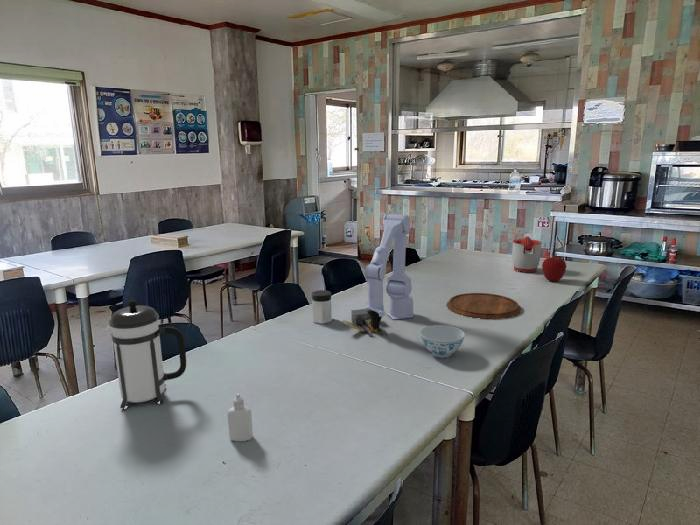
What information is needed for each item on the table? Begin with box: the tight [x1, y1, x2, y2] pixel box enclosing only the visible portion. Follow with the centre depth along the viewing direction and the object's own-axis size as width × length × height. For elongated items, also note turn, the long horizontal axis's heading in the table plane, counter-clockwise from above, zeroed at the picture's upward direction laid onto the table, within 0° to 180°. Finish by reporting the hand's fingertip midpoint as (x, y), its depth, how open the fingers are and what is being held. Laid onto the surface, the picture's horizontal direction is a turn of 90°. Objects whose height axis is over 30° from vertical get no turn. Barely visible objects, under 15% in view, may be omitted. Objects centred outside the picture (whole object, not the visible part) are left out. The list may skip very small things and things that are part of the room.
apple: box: [541, 256, 567, 282], centre depth 255 cm, size 12×12×13 cm
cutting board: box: [446, 292, 522, 320], centre depth 216 cm, size 32×32×2 cm
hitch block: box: [350, 308, 387, 338], centre depth 194 cm, size 10×18×5 cm, turn 17°
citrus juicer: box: [511, 235, 543, 273], centre depth 276 cm, size 16×17×20 cm
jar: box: [311, 289, 333, 325], centre depth 202 cm, size 9×8×12 cm
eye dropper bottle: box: [227, 393, 254, 442], centre depth 120 cm, size 4×6×12 cm
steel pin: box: [363, 316, 379, 333], centre depth 195 cm, size 3×12×5 cm, turn 18°
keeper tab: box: [342, 319, 367, 334], centre depth 189 cm, size 9×4×1 cm, turn 108°
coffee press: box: [104, 299, 187, 410], centre depth 139 cm, size 17×16×30 cm
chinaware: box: [419, 324, 466, 358], centre depth 168 cm, size 15×15×8 cm
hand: (375, 328), depth 188 cm, fingers closed
